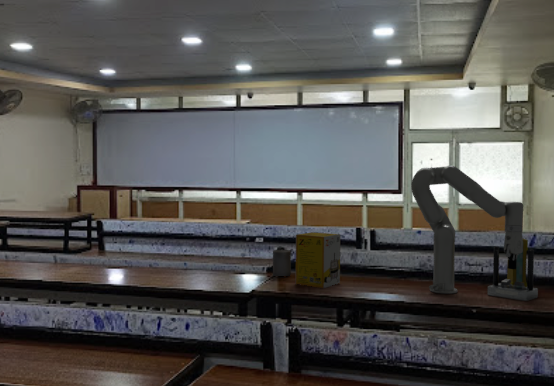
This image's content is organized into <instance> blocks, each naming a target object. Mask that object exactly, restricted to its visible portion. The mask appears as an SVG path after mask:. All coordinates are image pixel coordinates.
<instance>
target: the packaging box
mask: <svg viewBox="0 0 554 386" xmlns="http://www.w3.org/2000/svg"><path fill="white" fill-rule="evenodd" d="M338 283H339V284H340V283H341V234H340V233H339V234H338V233H326V232H325V233H324V232H314V231H313V232H305V233H297V234H295V285H297V284H301V285H300V286H304V285H307V286H306V287H311V286H312V288H320V289H325V288H329V287H333V286H336V285H338ZM335 284H336V285H335ZM332 285H333V286H332Z"/></svg>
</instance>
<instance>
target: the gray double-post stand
mask: <svg viewBox="0 0 554 386" xmlns="http://www.w3.org/2000/svg"><path fill="white" fill-rule="evenodd" d="M534 257H535V250H534V249H528V250H527V275H526V283H527V287H525V286H517V285H512V284H509V285H507V286H504V285H502V284H501V282H499V274H500V246H498V245H497V246H496V245H495V246H493V262H492V263H493V268H492V270H493V271H492V273H493V275H492V276H493V277H492V285H488V286H487V296H493V297H498V298H503V299H510V300H511V299H512V300H517V301H524V302H528V301H531V300H534V299H537V298H538V297H539V296H538V295H539V288H537V287H534V265H535V264H534V262H535V258H534Z"/></svg>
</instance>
